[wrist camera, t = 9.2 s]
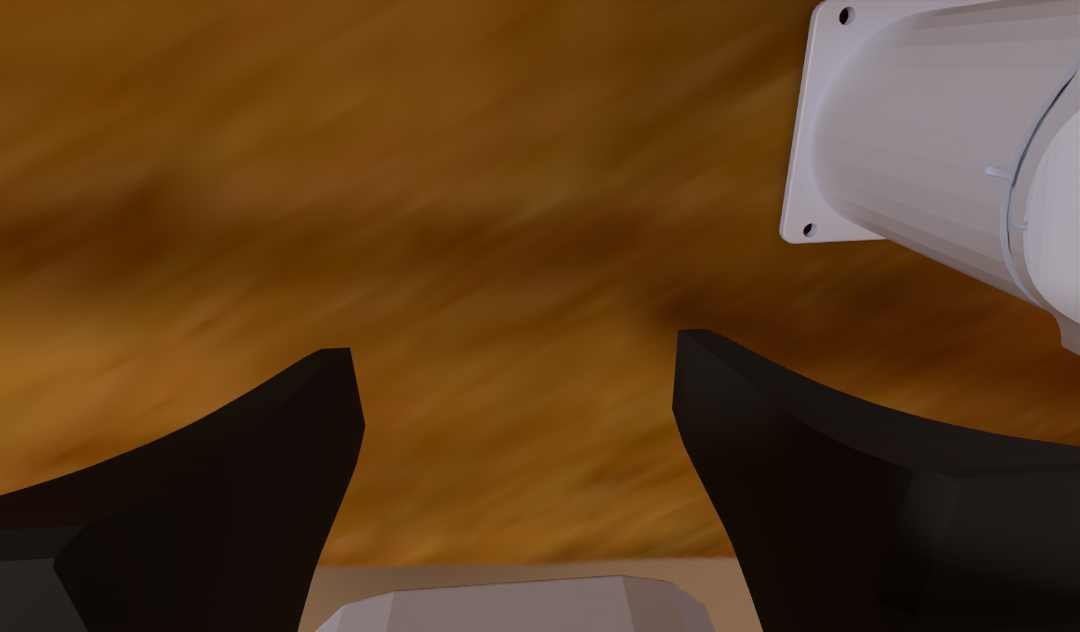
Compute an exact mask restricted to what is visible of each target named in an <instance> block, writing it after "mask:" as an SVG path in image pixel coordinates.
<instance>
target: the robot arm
mask: <svg viewBox="0 0 1080 632" xmlns="http://www.w3.org/2000/svg"><path fill="white" fill-rule="evenodd" d="M844 8H846V9H847V11H848V15H849V17H848V19H847V22H846V23H845V24H844V25H842V24H841V23H840V21H839V15H840V13H841V11H842V10H843V9H844ZM808 224H812V228H811V231H810V232H808V233H807V234H803V230H804V228H805V226H807V225H808ZM780 235H781V237H782V238H783V239H784V240H786V241H787V242H789V243H793V244H798V243H817V242H837V241H857V240H877V239H889V240H891V241H893V242H896V243H898V244H900V245H902V246H904V247H907V248H909V249H911V250H913V251H916V252H918V253H920V254H922V255H924V256H927V257H929V258H931V259H933V260H935V261H938V262H940V263H942V264H944V265H946V266H949V267H951V268H953V269H955V270H958V271H960V272H962V273H964V274H966V275H969V276H971V277H973V278H975V279H977V280H980V281H982V282H984V283H986V284H989V285H991V286H993V287H995V288H997V289H1000V290H1002V291H1004V292H1006V293H1008V294H1011V295H1013V296H1015V297H1017V298H1020V299H1022V300H1024V301H1026V302H1028V303H1031V304H1033V305H1035V306H1037V307H1039V308H1042V309H1044V310H1046V311H1048V312H1050V313H1051V314H1052V315H1053V316H1054V317H1055V318H1056V320H1057V322H1058V324H1059V327H1060V330H1061V345H1062V347H1063V348H1065V349H1067V350H1069V351H1071V352H1073V353H1075V354H1077V355H1079V356H1080V0H826V1H822V2H821V3H820V4H818V5H817V6H816V8H815V9H814V11H813V13H812V16H811V21H810V28H809V35H808V41H807V48H806V55H805V61H804V68H803V75H802V82H801V88H800V95H799V102H798V108H797V115H796V122H795V128H794V135H793V142H792V149H791V155H790V162H789V169H788V175H787V182H786V189H785V196H784V202H783V209H782V216H781V222H780ZM672 410H673V413H674V416H675V419H676V423H677V426H678V429H679V432H680V435H681V438H682V441H683V444H684V446H685V448H686V451H687V453H688V455H689V457H690V459H691V461H692V463H693V465H694V467H695V469H696V471H697V473H698V475H699V477H700V479H701V481H702V483H703V485H704V487H705V489H706V491H707V493H708V495H709V497H710V499H711V501H712V503H713V505H714V507H715V509H716V511H717V513H718V515H719V517H720V519H721V521H722V523H723V525H724V527H725V530H726V532H727V534H728V536H729V539H730V541H731V543H732V545H733V548H734V550H735V553H736V556H737V559H738V561H739V564H740V567H741V569H742V572H743V575H744V577H745V580H746V583H747V586H748V588H749V591H750V594H751V597H752V600H753V603H754V606H755V609H756V612H757V614H758V618H759V620H760V623H761V626H762V629H763V632H1080V447H1077V446H1071V445H1064V444H1058V443H1051V442H1044V441H1038V440H1031V439H1024V438H1018V437H1011V436H1005V435H1000V434H994V433H989V432H985V431H980V430H975V429H970V428H965V427H960V426H956V425H951V424H947V423H943V422H939V421H935V420H930V419H926V418H923V417H919V416H915V415H912V414H908V413H905V412H901V411H898V410H894V409H890V408H887V407H884V406H881V405H878V404H874V403H871V402H868V401H865V400H862V399H860V398H857V397H854V396H851V395H849V394H846V393H843V392H840V391H838V390H835V389H832V388H830V387H827V386H825V385H822V384H820V383H818V382H815V381H813V380H811V379H809V378H806V377H804V376H802V375H800V374H797V373H795V372H793V371H791V370H789V369H787V368H785V367H783V366H780V365H778V364H776V363H774V362H772V361H770V360H768V359H766V358H764V357H763V356H761V355H759V354H757V353H755V352H753V351H751V350H749V349H747V348H745V347H743V346H741V345H739V344H738V343H736V342H734V341H732V340H730V339H728V338H726V337H724V336H722V335H720V334H718V333H715V332H713V331H710V330H708V329H694V330H678V342H677V355H676V367H675V379H674V392H673V404H672ZM364 430H365V422H364V417H363V412H362V407H361V402H360V397H359V391H358V386H357V381H356V376H355V371H354V366H353V361H352V356H351V351H350V348H332V349H320V350H318V351H316V352H314V353H312V354H310V355H308V356H306V357H305V358H303V359H301V360H300V361H298V362H296V363H295V364H293V365H291V366H290V367H288V368H287V369H285V370H283V371H282V372H280V373H279V374H277V375H275V376H274V377H272V378H271V379H269V380H267V381H266V382H264V383H262V384H261V385H259V386H258V387H256V388H254V389H253V390H251V391H249V392H248V393H246V394H244V395H242V396H241V397H239V398H237V399H235V400H234V401H232V402H230V403H228V404H227V405H225V406H223V407H221V408H220V409H218V410H216V411H214V412H213V413H211V414H209V415H207V416H205V417H203V418H201V419H199V420H197V421H196V422H194V423H192V424H190V425H188V426H186V427H183V428H181V429H179V430H177V431H175V432H173V433H171V434H168V435H166V436H164V437H162V438H160V439H158V440H155V441H153V442H151V443H149V444H146V445H144V446H141V447H139V448H136V449H134V450H131V451H129V452H126V453H124V454H121V455H118V456H116V457H113V458H111V459H108V460H106V461H103V462H101V463H98V464H96V465H93V466H90V467H88V468H85V469H82V470H79V471H76V472H73V473H70V474H67V475H65V476H62V477H59V478H56V479H53V480H50V481H46V482H43V483H40V484H37V485H34V486H30V487H27V488H24V489H21V490H18V491H14V492H11V493H7V494H4V495H1V496H0V632H297V631H298V627H299V623H300V619H301V616H302V613H303V609H304V605H305V602H306V598H307V595H308V591H309V588H310V584H311V581H312V577H313V574H314V571H315V568H316V565H317V563H318V560H319V557H320V554H321V552H322V549H323V547H324V544H325V542H326V539H327V537H328V534H329V532H330V529H331V527H332V524H333V522H334V520H335V517H336V515H337V512H338V510H339V507H340V505H341V502H342V500H343V497H344V495H345V492H346V490H347V487H348V485H349V482H350V480H351V477H352V475H353V472H354V469H355V467H356V464H357V460H358V456H359V452H360V448H361V443H362V439H363V434H364ZM315 632H715V631H714V628H713V625H712V623H711V620H710V617H709V614H708V612H707V609H706V606H705V605H704V604H702V603H701V602H699V601H698V600H697V599H695V598H694V597H692V596H691V595H689V594H688V593H687V592H685V591H684V590H682V589H681V588H679V587H678V586H676V585H675V584H674V583H672V582H668V581H664V580H656V579H649V578H641V577H633V576H625V575H610V576H595V577H582V578H581V577H580V578H566V579H551V580H537V581H524V582H523V581H522V582H508V583H493V584H478V585H464V586H449V587H434V588H419V589H405V590H396V591H392V592H388V593H385V594H381V595H377V596H373V597H369V598H366V599H362V600H358V601H354V602H351V603H349V604H346V605H344V606H343V607H341V608H340V609H339V610H338V611H337V612H336V613H335V614H334V615H333V616H332V617H331V618H329V619H328V620H327V621H326V622H325V623H324V624H323V625H322V626H321V627H320V628H319V629H317V631H315Z"/></svg>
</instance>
